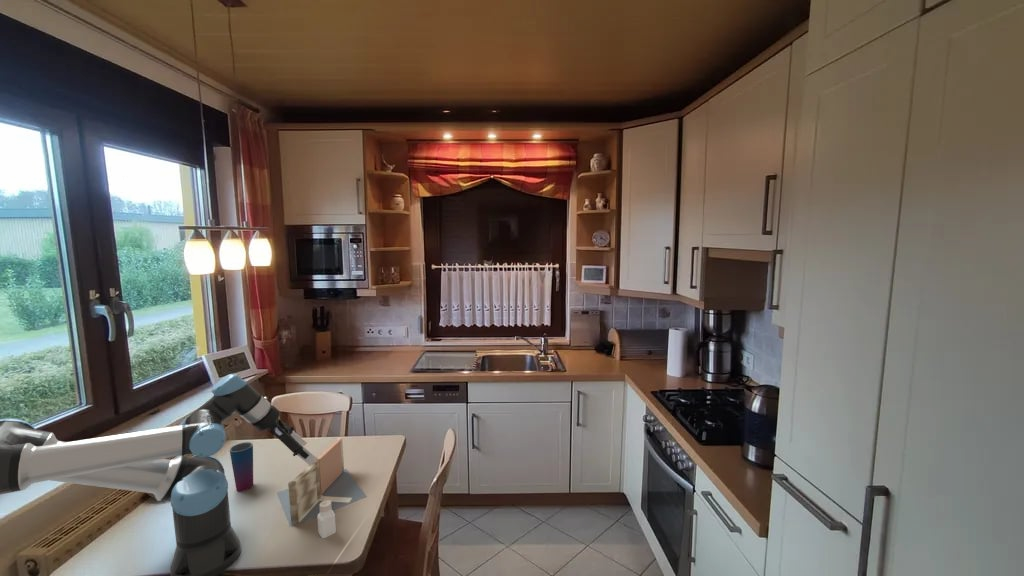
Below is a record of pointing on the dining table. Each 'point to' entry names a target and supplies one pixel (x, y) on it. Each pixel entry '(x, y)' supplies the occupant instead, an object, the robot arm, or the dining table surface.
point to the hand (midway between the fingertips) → (308, 453)
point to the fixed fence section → (304, 492)
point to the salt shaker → (326, 519)
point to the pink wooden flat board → (331, 464)
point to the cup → (242, 465)
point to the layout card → (328, 496)
